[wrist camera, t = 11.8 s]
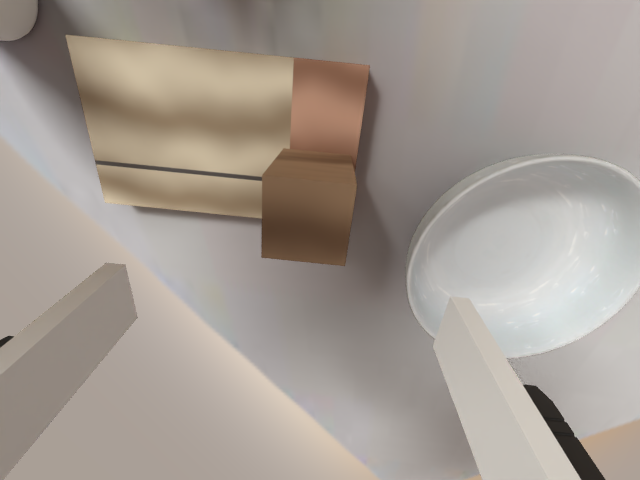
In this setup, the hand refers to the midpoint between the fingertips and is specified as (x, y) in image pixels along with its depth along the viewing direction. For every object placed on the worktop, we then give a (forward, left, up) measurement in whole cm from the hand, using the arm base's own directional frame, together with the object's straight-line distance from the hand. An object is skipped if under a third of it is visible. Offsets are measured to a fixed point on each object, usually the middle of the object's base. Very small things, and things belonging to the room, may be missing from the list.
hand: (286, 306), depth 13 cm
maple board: (-3, -8, -20) cm, 22 cm away
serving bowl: (+5, +20, -21) cm, 29 cm away
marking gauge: (+1, 0, -20) cm, 20 cm away
